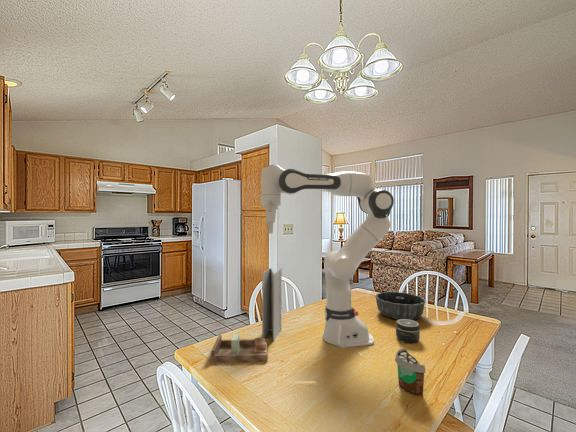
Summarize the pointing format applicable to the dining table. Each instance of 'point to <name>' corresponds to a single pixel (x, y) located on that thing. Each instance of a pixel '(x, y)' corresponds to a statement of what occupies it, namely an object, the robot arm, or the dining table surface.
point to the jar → (407, 331)
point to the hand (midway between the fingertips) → (270, 232)
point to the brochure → (271, 302)
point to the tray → (246, 353)
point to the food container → (410, 373)
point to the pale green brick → (235, 344)
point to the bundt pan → (400, 305)
